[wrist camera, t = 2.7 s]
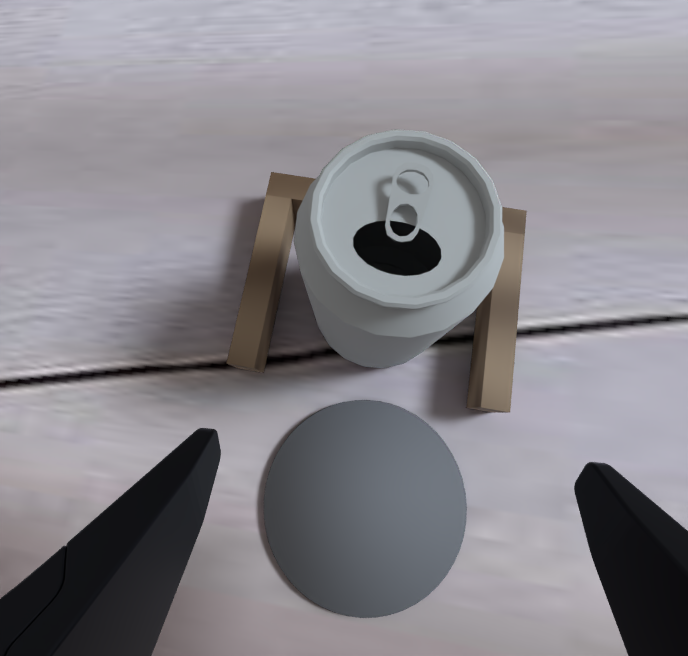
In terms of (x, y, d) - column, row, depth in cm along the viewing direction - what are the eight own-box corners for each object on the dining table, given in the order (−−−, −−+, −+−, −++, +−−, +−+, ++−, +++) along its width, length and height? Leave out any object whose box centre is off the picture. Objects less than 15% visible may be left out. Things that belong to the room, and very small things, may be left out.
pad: (452, 632, 20) (454, 637, 20) (245, 591, 21) (243, 595, 20) (474, 418, 23) (476, 418, 22) (286, 385, 23) (285, 385, 23)
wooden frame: (492, 412, 23) (510, 412, 20) (239, 368, 23) (226, 363, 21) (508, 230, 25) (526, 210, 23) (278, 195, 26) (271, 172, 23)
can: (302, 353, 23) (257, 294, 12) (332, 239, 25) (320, 87, 13) (425, 383, 23) (507, 353, 11) (448, 266, 25) (542, 132, 13)
